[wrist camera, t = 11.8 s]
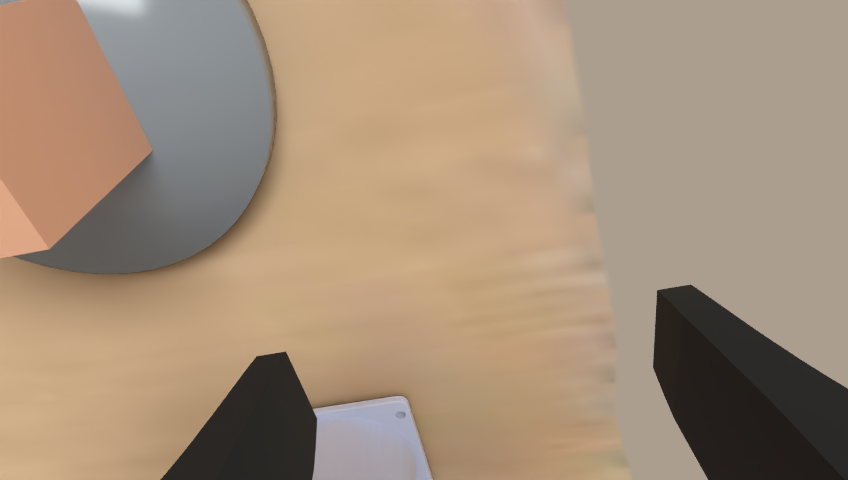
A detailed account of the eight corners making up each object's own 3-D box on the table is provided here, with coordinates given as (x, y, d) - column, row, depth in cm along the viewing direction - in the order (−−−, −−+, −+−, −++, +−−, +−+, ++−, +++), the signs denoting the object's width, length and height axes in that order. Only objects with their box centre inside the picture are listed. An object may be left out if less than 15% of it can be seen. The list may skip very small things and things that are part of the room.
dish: (327, 222, 21) (323, 238, 20) (0, 282, 22) (-19, 301, 21) (164, -249, 13) (144, -262, 12) (-318, -119, 14) (-373, -121, 13)
